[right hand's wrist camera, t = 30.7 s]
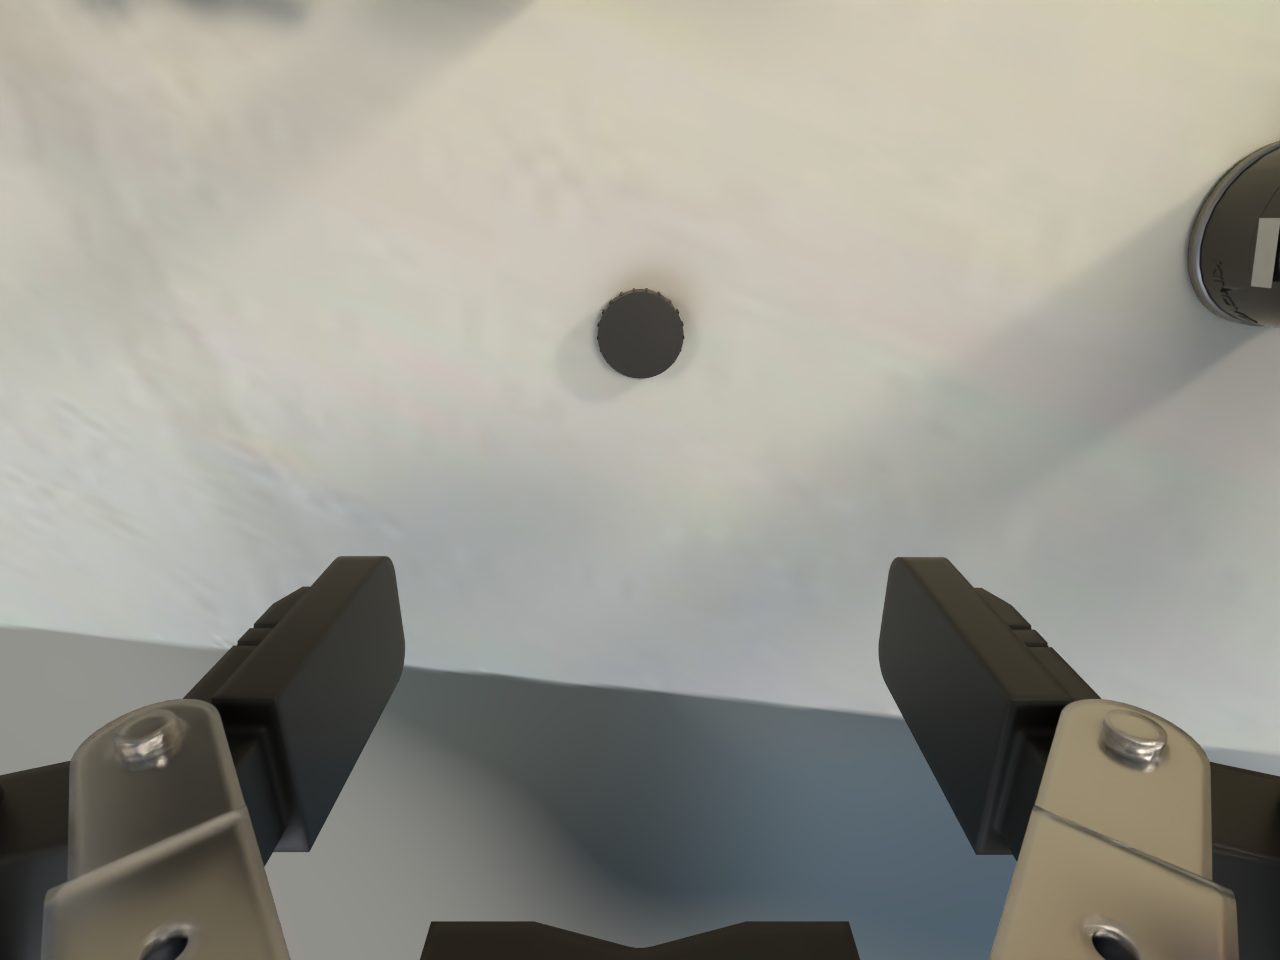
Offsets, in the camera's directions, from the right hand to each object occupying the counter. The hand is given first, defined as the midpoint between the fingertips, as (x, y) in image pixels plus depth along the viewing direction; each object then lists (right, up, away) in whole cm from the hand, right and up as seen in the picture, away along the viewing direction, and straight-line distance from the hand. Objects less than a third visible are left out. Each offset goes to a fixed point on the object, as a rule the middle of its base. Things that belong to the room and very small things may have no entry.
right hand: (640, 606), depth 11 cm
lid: (0, +10, +26) cm, 28 cm away
